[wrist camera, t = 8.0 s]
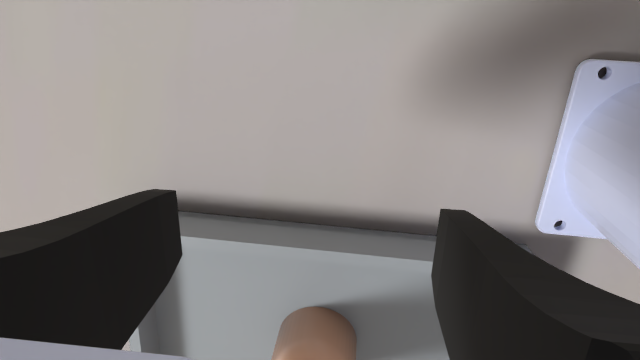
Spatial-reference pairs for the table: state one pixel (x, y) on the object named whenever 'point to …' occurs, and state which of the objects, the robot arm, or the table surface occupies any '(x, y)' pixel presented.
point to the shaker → (315, 336)
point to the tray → (293, 289)
